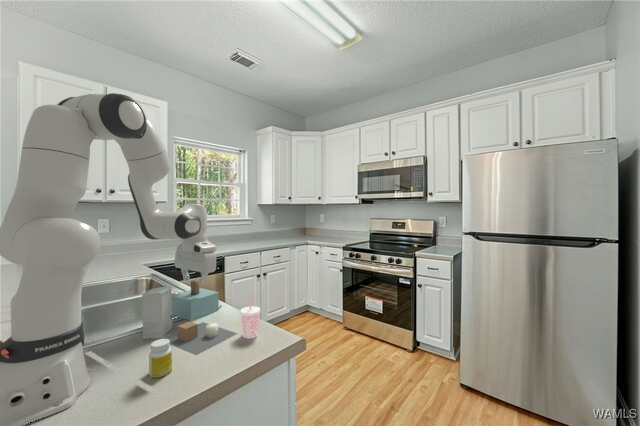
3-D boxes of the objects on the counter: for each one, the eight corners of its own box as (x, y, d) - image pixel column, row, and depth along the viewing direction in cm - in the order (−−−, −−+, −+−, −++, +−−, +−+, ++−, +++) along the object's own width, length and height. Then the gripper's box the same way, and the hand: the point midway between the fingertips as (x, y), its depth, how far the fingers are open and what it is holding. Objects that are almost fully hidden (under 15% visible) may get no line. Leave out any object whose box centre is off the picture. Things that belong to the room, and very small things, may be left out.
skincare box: (162, 341, 86) (162, 293, 85) (141, 342, 85) (140, 294, 84) (173, 329, 94) (172, 285, 94) (153, 330, 93) (153, 286, 93)
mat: (196, 358, 76) (196, 340, 76) (160, 343, 84) (160, 326, 84) (237, 336, 89) (237, 321, 89) (202, 324, 97) (202, 310, 97)
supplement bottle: (175, 375, 69) (175, 341, 68) (155, 385, 65) (155, 349, 64) (165, 368, 71) (165, 336, 71) (145, 377, 67) (145, 343, 67)
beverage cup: (236, 341, 86) (236, 296, 86) (246, 332, 92) (246, 290, 92) (254, 343, 84) (254, 297, 84) (263, 334, 90) (263, 291, 90)
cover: (191, 323, 98) (190, 287, 98) (170, 316, 104) (170, 282, 104) (218, 312, 109) (218, 279, 108) (198, 306, 115) (198, 275, 114)
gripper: (170, 244, 108) (170, 279, 108) (204, 248, 98) (204, 287, 98) (185, 242, 114) (184, 276, 114) (219, 246, 104) (219, 283, 104)
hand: (194, 281), depth 106 cm, fingers open, 8 cm apart
